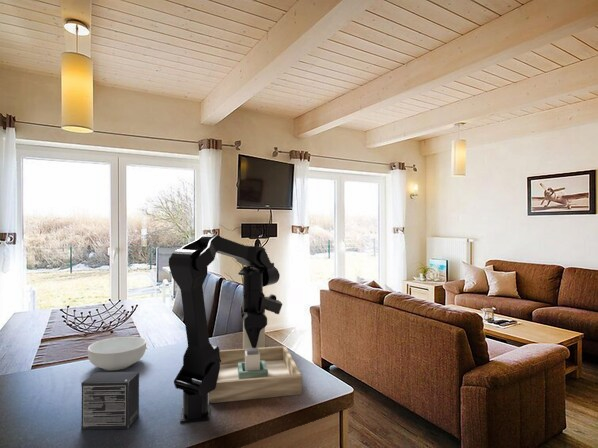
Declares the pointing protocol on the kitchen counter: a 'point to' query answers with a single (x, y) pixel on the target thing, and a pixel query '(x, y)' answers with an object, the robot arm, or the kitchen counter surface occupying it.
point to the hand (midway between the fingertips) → (252, 342)
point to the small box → (110, 400)
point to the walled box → (256, 376)
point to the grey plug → (252, 359)
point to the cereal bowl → (116, 352)
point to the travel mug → (260, 340)
